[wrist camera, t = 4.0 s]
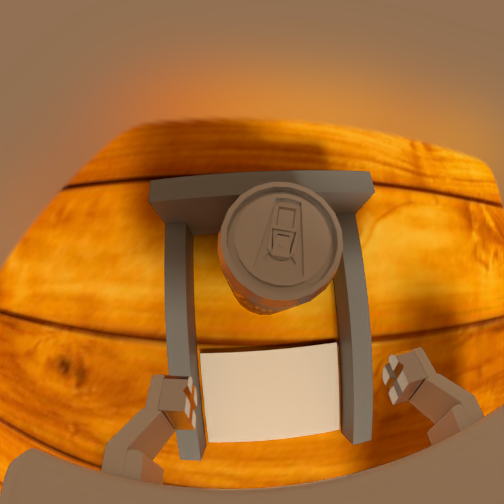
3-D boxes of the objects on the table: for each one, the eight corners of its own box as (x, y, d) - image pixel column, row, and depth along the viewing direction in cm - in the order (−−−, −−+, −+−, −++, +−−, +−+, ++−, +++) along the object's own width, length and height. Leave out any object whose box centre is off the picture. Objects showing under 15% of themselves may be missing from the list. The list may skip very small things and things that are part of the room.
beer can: (238, 245, 23) (229, 168, 11) (301, 256, 23) (351, 190, 11) (225, 308, 22) (201, 292, 10) (292, 320, 22) (341, 315, 10)
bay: (188, 444, 19) (167, 484, 12) (175, 218, 24) (150, 180, 17) (358, 428, 19) (393, 458, 12) (340, 210, 24) (369, 171, 17)
